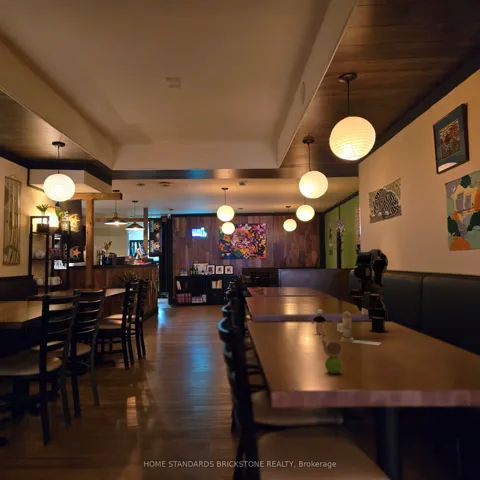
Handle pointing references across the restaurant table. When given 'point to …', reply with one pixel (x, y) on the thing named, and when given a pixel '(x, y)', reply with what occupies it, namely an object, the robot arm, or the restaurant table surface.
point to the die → (340, 327)
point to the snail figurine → (332, 356)
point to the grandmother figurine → (319, 322)
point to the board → (364, 342)
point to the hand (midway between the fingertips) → (367, 310)
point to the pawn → (347, 327)
